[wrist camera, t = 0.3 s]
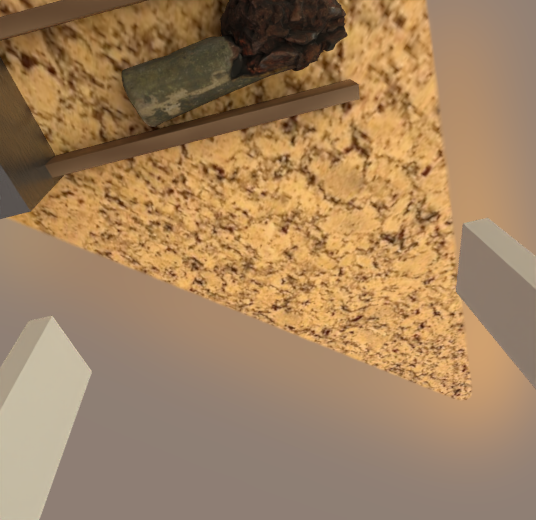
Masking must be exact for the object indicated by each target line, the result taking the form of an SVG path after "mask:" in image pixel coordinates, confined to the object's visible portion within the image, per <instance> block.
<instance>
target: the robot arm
mask: <svg viewBox="0 0 536 520" xmlns="http://www.w3.org/2000/svg"><path fill="white" fill-rule="evenodd" d="M456 292H457V294H458V295H459V296H460V297H461V299H462V300H463V301H464V302H465V303H466V305H467V306H468V307H469V308H470V310H471V311H472V312H473V313H474V314H475V316H476V317H477V318H478V319H479V321H480V322H481V323H482V324H483V325H484V327H485V328H486V329H487V330H488V331H489V332H490V334H491V335H492V336H493V338H494V339H495V340H496V341H497V342H498V344H499V345H500V346H501V347H502V349H503V350H504V351H505V352H506V353H507V355H508V356H509V357H510V358H511V359H512V361H513V362H514V363H515V364H516V366H517V367H518V368H519V369H520V370H521V372H522V373H523V374H524V375H525V377H526V378H527V379H528V380H529V382H530V383H531V384H532V385H533V386H534V388H535V389H536V256H535V255H533V254H532V253H531V252H530V251H528V250H527V249H526V248H525V247H524V246H522V245H521V244H520V243H519V242H517V241H516V240H515V239H513V238H512V237H511V236H510V235H508V234H507V233H506V232H505V231H504V230H502V229H501V228H500V227H499V226H497V225H496V224H494V222H492V221H491V220H490V219H488V218H485V219H481V220H476V221H472V222H467V223H463V228H462V239H461V248H460V257H459V267H458V276H457V286H456ZM91 373H92V371H91V370H90V368H89V367H88V366H87V364H86V363H85V361H84V360H83V359H82V357H81V356H80V355H79V353H78V351H77V350H76V349H75V348H74V346H73V344H72V343H71V342H70V340H69V339H68V338H67V336H66V335H65V333H64V332H63V331H62V329H61V328H60V326H59V325H58V323H57V322H56V321H55V319H54V318H53V316H49V317H45V318H40V319H36V320H31V321H29V322H28V323H27V325H26V327H25V328H24V330H23V331H22V333H21V335H20V336H19V338H18V340H17V341H16V343H15V344H14V346H13V348H12V349H11V351H10V353H9V354H8V356H7V357H6V359H5V361H4V362H3V364H2V366H1V368H0V520H39V518H40V516H41V513H42V510H43V507H44V505H45V502H46V499H47V496H48V493H49V491H50V488H51V485H52V482H53V479H54V477H55V473H56V470H57V468H58V465H59V462H60V460H61V457H62V454H63V451H64V448H65V446H66V443H67V440H68V437H69V434H70V432H71V429H72V426H73V423H74V420H75V417H76V415H77V412H78V409H79V406H80V404H81V401H82V398H83V395H84V392H85V389H86V387H87V384H88V381H89V378H90V376H91Z"/></svg>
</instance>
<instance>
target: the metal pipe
mask: <svg viewBox="0 0 536 520" xmlns="http://www.w3.org/2000/svg"><path fill="white" fill-rule="evenodd" d="M345 15H346V14H345V12H344V10H343V9H342V7H341V5H340V4H339V3H338V2H337V1H336V0H229V2H228V4H227V7H226V9H225V11H224V13H223V14H222V17H221V19H220V20H221V34H222V36H221V37H210V38H206V39H204V40H202V41H199V42H197V43H194V44H191V45H189V46H187V47H184V48H182V49H179V50H177V51H175V52H173V53H171V54H169V55H168V56H164V57H160V58H157V59H153V60H150V61H148V62H145V63H142V64H139V65H136V66H133V67H130V68H128V69H125V70H123V71H122V81H123V86H124V88H125V91H126V94H127V96H128V98H129V100H130V101H131V103H132V105H133V106H134V107H135V109H136V110H137V112H138V114H139V115H140V117H141V118H142V119H143V121H144V122H145V123H146V124H147V125H148V126H151V127H156V126H157V125H159V124H161V123H163V122H165V121H167V120H170V119H172V118H174V117H176V116H178V115H181V114H183V113H185V112H188V111H190V110H192V109H195V108H197V107H199V106H201V105H203V104H205V103H208V102H210V101H212V100H214V99H217V98H219V97H221V96H223V95H226V94H228V93H230V92H232V91H235V90H237V89H240V88H242V87H244V86H247V85H249V84H251V83H254V82H256V81H258V80H261V79H263V78H266V77H268V76H271V75H274V74H277V73H280V72H284V71H287V70H290V69H292V70H294V71H298V70H302V69H304V68H305V67H307V66H308V65H309V64H310V63H312V62H315V61H318V59H317V58H318V57H319V55H320V53H321V52H324V51H323V50H325V51H330V50H332V49H334V47H335V44H336V43H337V42H339V41H340V40H341V39H343V38H345V37H347V33H346V31H345V28H344V25H345V23H344V20H345V18H344V16H345Z"/></svg>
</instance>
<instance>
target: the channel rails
mask: <svg viewBox="0 0 536 520" xmlns="http://www.w3.org/2000/svg"><path fill="white" fill-rule="evenodd" d="M143 1H147V0H61V1H57V2H53V3H50V4H46V5H43V6H39V7H35V8H32V9H28V10H24V11H21V12H17V13H14V14H10V15H6V16H3V17H0V40H4V39H8V38H11V37H15V36H19V35H22V34H26V33H30V32H33V31H37V30H41V29H44V28H48V27H52V26H55V25H59V24H63V23H66V22H70V21H74V20H77V19H81V18H85V17H88V16H92V15H96V14H99V13H103V12H107V11H110V10H114V9H118V8H121V7H125V6H129V5H132V4H136V3H140V2H143ZM357 99H359V86H358V84H357V83H355V82H354V81H352V80H346V81H342V82H338V83H334V84H331V85H327V86H323V87H319V88H315V89H311V90H307V91H304V92H300V93H296V94H292V95H288V96H284V97H280V98H277V99H273V100H269V101H265V102H261V103H257V104H253V105H249V106H246V107H242V108H238V109H234V110H230V111H226V112H222V113H219V114H215V115H211V116H207V117H203V118H199V119H195V120H192V121H188V122H184V123H180V124H176V125H172V126H168V127H164V128H161V129H157V130H153V131H149V132H145V133H141V134H137V135H134V136H130V137H126V138H122V139H118V140H114V141H110V142H107V143H103V144H99V145H95V146H91V147H87V148H83V149H80V150H76V151H72V152H68V153H64V154H60V155H56V156H54V157H53V158H52V159H51V160H50V161H49V162H48V163H47V164H46V165H45V166H46V168H47V169H48V171H49V173H50V175H51V176H52V178H53V177H57V176H61V175H65V174H69V173H73V172H77V171H81V170H85V169H88V168H92V167H96V166H100V165H104V164H108V163H112V162H116V161H120V160H123V159H127V158H131V157H135V156H139V155H143V154H147V153H151V152H155V151H159V150H162V149H166V148H170V147H174V146H178V145H182V144H186V143H190V142H194V141H198V140H201V139H205V138H209V137H213V136H217V135H221V134H225V133H229V132H233V131H237V130H240V129H244V128H248V127H252V126H256V125H260V124H264V123H268V122H272V121H275V120H279V119H283V118H287V117H291V116H295V115H299V114H303V113H307V112H311V111H314V110H318V109H322V108H326V107H330V106H334V105H338V104H342V103H346V102H350V101H353V100H357Z"/></svg>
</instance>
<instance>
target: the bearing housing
mask: <svg viewBox="0 0 536 520" xmlns="http://www.w3.org/2000/svg"><path fill="white" fill-rule="evenodd" d="M54 156H55V154H54V153H53V151H52V149H51V147H50V145H49V144H48V142H47V140H46V138H45V136H44V135H43V133H42V131H41V129H40V127H39V126H38V124H37V122H36V120H35V118H34V117H33V115H32V113H31V111H30V109H29V108H28V106H27V104H26V102H25V100H24V99H23V97H22V95H21V93H20V92H19V90H18V88H17V86H16V84H15V83H14V81H13V79H12V77H11V75H10V74H9V72H8V70H7V68H6V66H5V65H4V63H3V61H2V59H1V57H0V219H2V218H6V217H10V216H14V215H18V214H22V213H26V212H30V211H31V210H32V209H33V208H34V207H35V206H36V205H37V204H38V203H39V202H40V201H41V200H42V198H43V197H44V196H45V195H46V194H47V193H48V192H49V191H50V190H51V189H52V188H53V186H54V185H55V184H56V183H57V182H58V181H59V180H60V179H61V178H62V177H63V176H64V175H61V176H57V177H53V178H52V176H51V175H50V173H49V171H48V169H47V168H46V166H45V165H46V164H47V163H48V162H49V161H50V160H51V159H52V158H53V157H54Z"/></svg>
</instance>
